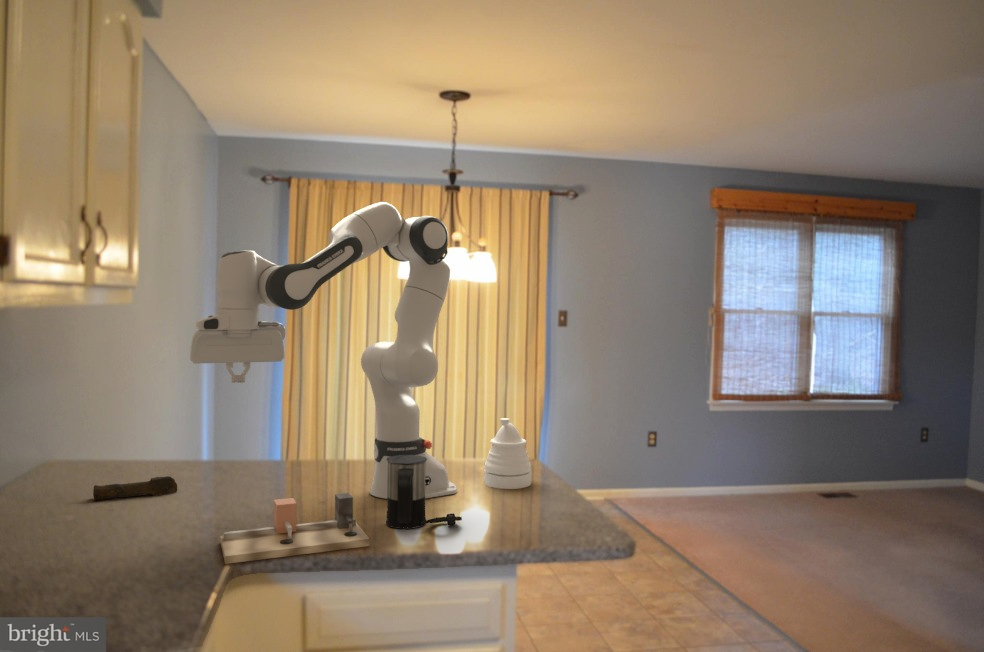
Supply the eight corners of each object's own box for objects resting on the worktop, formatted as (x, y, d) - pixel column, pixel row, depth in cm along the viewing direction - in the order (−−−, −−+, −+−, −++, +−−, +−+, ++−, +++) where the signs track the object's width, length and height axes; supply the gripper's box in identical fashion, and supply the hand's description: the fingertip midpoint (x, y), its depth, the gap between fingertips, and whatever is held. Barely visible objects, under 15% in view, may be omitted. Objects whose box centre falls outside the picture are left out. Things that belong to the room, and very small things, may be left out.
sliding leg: (293, 526, 161) (293, 497, 161) (300, 539, 153) (300, 509, 152) (273, 528, 159) (273, 499, 159) (279, 541, 151) (279, 511, 151)
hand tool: (92, 503, 184) (92, 484, 183) (94, 499, 187) (94, 480, 187) (176, 496, 191) (176, 478, 191) (176, 492, 195) (176, 474, 194)
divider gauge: (354, 527, 167) (354, 491, 166) (369, 545, 155) (369, 507, 154) (220, 542, 156) (220, 504, 155) (225, 564, 144) (224, 522, 143)
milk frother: (381, 519, 173) (381, 455, 172) (447, 513, 179) (447, 450, 178) (396, 538, 160) (397, 469, 159) (466, 530, 165) (467, 464, 165)
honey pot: (516, 491, 199) (517, 423, 198) (475, 484, 205) (476, 418, 204) (539, 481, 209) (540, 417, 209) (499, 475, 216) (500, 412, 215)
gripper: (283, 320, 178) (283, 379, 178) (189, 321, 169) (189, 382, 170) (287, 321, 172) (287, 382, 172) (190, 322, 164) (190, 385, 164)
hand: (238, 382), depth 171 cm, fingers closed
